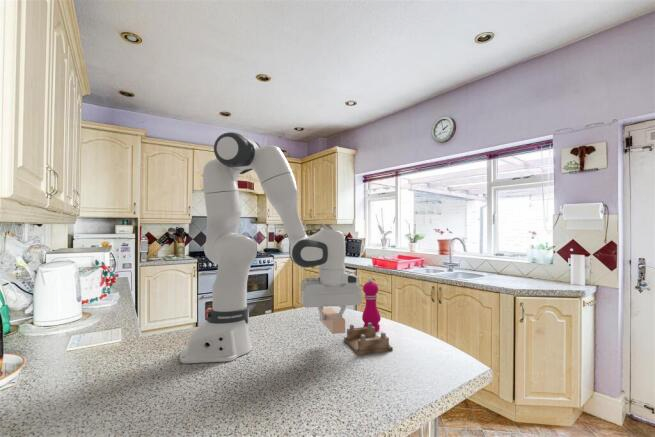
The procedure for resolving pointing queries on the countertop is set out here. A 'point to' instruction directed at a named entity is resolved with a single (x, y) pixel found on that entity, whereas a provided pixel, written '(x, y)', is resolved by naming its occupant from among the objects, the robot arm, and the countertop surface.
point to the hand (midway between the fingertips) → (331, 319)
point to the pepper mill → (371, 305)
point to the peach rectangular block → (333, 321)
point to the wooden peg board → (367, 340)
